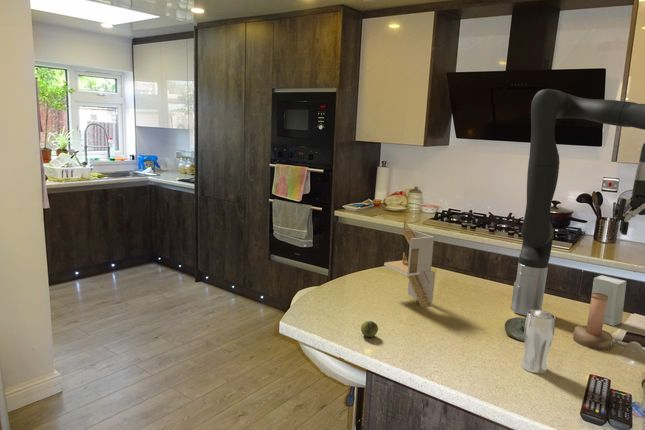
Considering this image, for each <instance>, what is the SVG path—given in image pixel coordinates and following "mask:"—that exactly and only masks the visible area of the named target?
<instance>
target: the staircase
mask: <svg viewBox="0 0 645 430" xmlns="http://www.w3.org/2000/svg"><path fill="white" fill-rule="evenodd" d="M402 227H403V229H402V235H403V236H404V238H405V240H406V241H407V244H408V245H409V246H408V247H409V249H408V259H407V256H406V253H405V252H403V253H402V260H395V261H394V260H393V261H387V262H384V263H383V264H384V266H385V267H387V268H389V269H392V270H394V271H396V272H398V273H400V274H401V275H404V276H406V277H407V280H408V282H407V284H408V285H407V286H408V287H407V295H409V296H410V297H412V298H415V299H416V300H417V302H418V304H419V307H422V308H425V307H432V306H433V300H434V290H435V279H436V272H435V271H433V270H432V264H433V262H432V261H433V252H434V242H435V241H434V240H435V237H434V236H432V235H429V234H426V233H424V232H419V231H417V230H414V229H412V228H411V227H409V225H408V223H407V221H406V219H404V220H403V226H402Z"/></svg>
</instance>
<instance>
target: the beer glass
mask: <svg viewBox="0 0 645 430" xmlns="http://www.w3.org/2000/svg"><path fill="white" fill-rule="evenodd" d="M525 318H526V322H525V328H524V341H523V342H524V354H523V358H522V361H521V363H520V364H521V365H520V366H521V368H523V369H524V370H525V371H528V372H530V373H533V374H545V373H547V357H548V354H549V352H550V348H551V346H552V343H553V340H554V335H555V328H556V316H555V315H554V313H551V312H549V311H546V310H543V309H542V310H529V311H528V313H527V316H525Z"/></svg>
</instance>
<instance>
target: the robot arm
mask: <svg viewBox="0 0 645 430" xmlns="http://www.w3.org/2000/svg"><path fill="white" fill-rule="evenodd" d="M530 105H531V106H530V114H531V115H530V119H531V121H530V122H531V124H530V125H531V127H530V129H531V134H530V147H529V158H528V164H527V174H526V178H527V179H526V207H525V213H524V218H523V223H522V226H521V231H520V235H521V238H522V245H521V250H520V253H519V256H518V257H519V258H518V265H517V271H516V272H517V273H516V280H515V281H514V282H513V290H512V296H511V302H510V303H511V305H510V308H511V309H512V311H513V312H514V314H519V315H521V316H525V317H527V313H528V311H529V310H543V304H544V303H543V301H544V295H545V289H546V282H547V275H548V269H549V268H548V267H549V262H550V257H551V253H552V246H553V241H554V235H555V233H554V232H555V230H554V227H553V224H552V223H551V207H552V203H553V199H554V196H555V192H556V189H557V186H558V185H557V184H558V179H559V173H560V153H559V150H558V147H557V142H556V140H555V139H556V138H555V127H556V119H579V120H580V119H581V120H587V121H591V122H595V123H599V124H604V125H609V126H616V127H624V128H634V129H640V130H645V103H638V102H634V101H633V102H632V101H624V100H617V99H615V100H614V99H597V98H596V99H595V98H594V99H593V98H585V97H580V96H576V95H574V94H573V95H572V94H569V93H566V92H563V91H562V90H557V89H552V88H545V89H544V88H543V89H541V90H538V91H537V92H536V93H535V94H534V96H533V99H532V100H531V104H530ZM634 176H635V177H634V181H633V187H632V192H631V193H632V194H631V198H624V197H619V198H617V203H616V207H615V210H614V215H613V216H614V218H615V219H618V220H620V225H619V232H620V233H621V234H622V235H623V236H627V235H628V230H629V227H630V226H629V225H630V222H629V221H630V220H632V219H633V218H634V217H636V216H638V215H639V216H645V142H644V143H643V144H642V147H641V150H640V155H639V160H638V165H637V167H636V171H635V175H634ZM628 204H629V206H630V208H628V209H627V210H626V211H625V208H626V207H627V206H628ZM624 212H625V213H624Z"/></svg>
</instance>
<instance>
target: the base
mask: <svg viewBox="0 0 645 430" xmlns="http://www.w3.org/2000/svg"><path fill="white" fill-rule="evenodd" d="M586 328H587V325H577V326H575V327H574V330H573V335H572V339H573V341H574V342H576V343H577V344H579V345H580V346H582V347H586V348H589V349H592V350H599V351H605V350H606V351H607V350H610V349H611V348H612V345H613V337H614V336H613V335H612V334H611V333H609V332H608V331H606V330H604V329H602V333H601V336H594V335H591V334H588V333H587V332H586Z"/></svg>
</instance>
